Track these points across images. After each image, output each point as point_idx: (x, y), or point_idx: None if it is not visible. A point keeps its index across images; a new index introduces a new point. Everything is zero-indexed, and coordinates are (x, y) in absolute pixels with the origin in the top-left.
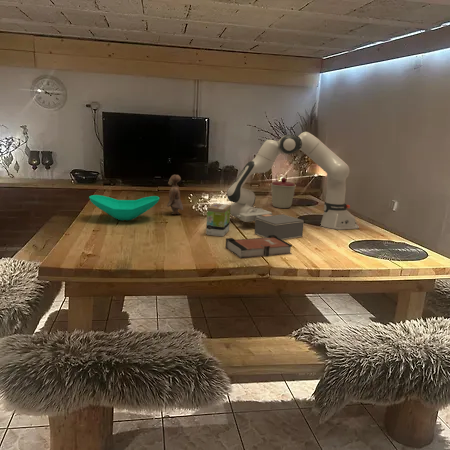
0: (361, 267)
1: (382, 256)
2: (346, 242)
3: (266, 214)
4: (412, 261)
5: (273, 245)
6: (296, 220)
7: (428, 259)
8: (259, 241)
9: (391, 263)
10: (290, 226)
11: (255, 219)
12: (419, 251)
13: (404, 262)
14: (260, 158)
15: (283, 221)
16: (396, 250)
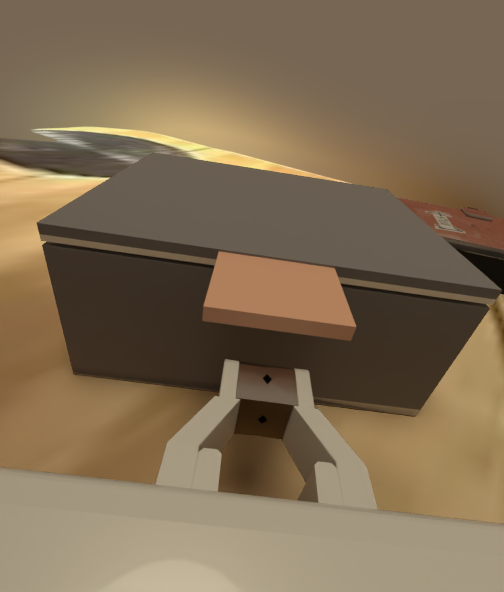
0: (277, 165)
1: (170, 154)
2: (101, 181)
3: (25, 476)
4: (156, 141)
5: (443, 209)
6: (198, 163)
7: (117, 133)
8: (488, 234)
9: (203, 151)
10: None
11: (489, 308)
12: (59, 133)
13: (176, 145)
14: None
15: (301, 183)
16: (89, 144)
